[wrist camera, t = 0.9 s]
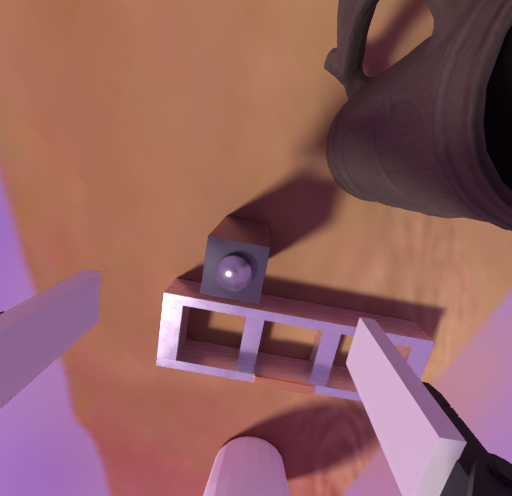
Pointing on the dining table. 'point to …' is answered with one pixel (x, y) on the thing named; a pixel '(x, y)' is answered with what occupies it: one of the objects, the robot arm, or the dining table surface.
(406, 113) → the beer stein
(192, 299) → the frame with square openings
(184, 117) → the dining table surface
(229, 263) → the square peg with dome
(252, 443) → the bottle
